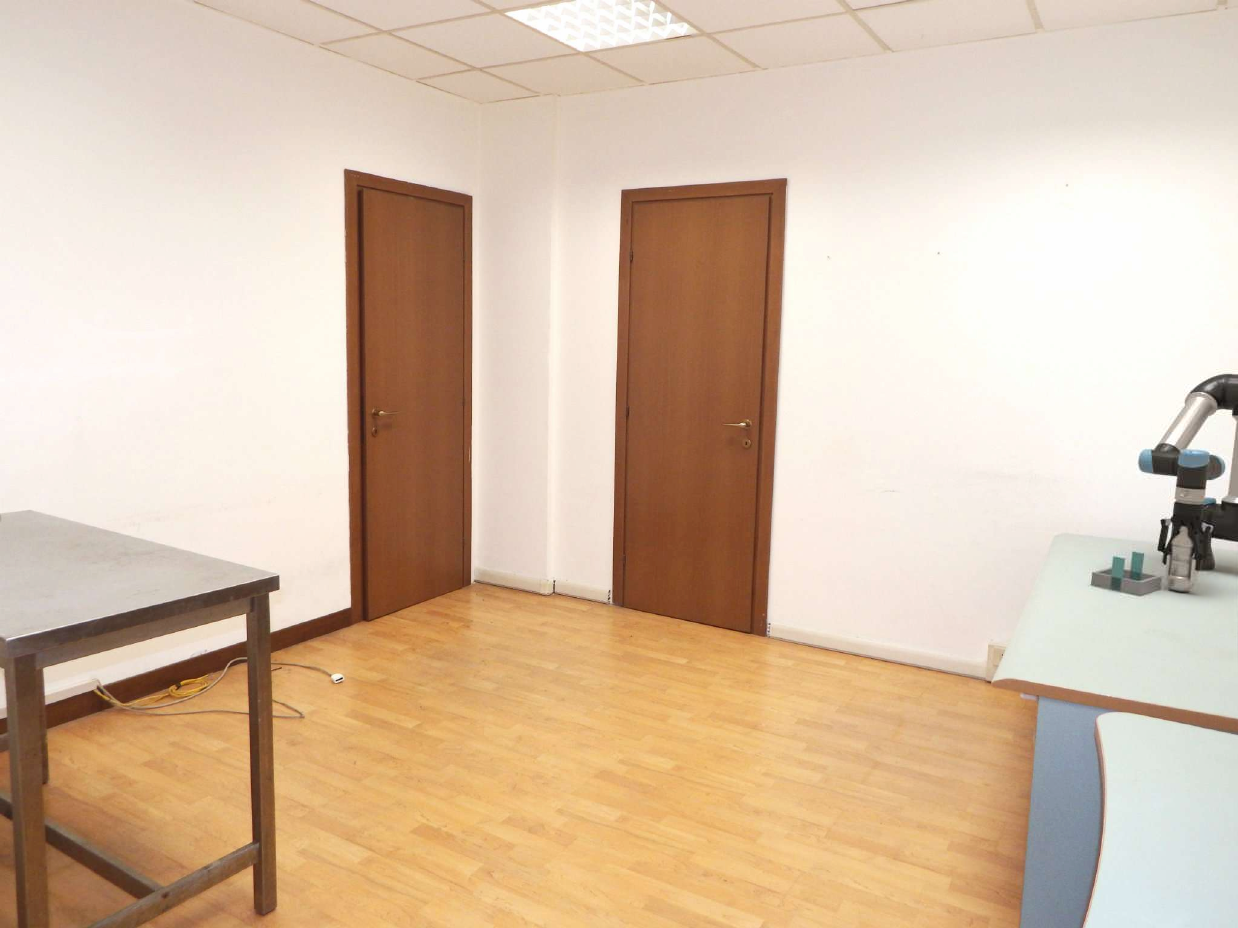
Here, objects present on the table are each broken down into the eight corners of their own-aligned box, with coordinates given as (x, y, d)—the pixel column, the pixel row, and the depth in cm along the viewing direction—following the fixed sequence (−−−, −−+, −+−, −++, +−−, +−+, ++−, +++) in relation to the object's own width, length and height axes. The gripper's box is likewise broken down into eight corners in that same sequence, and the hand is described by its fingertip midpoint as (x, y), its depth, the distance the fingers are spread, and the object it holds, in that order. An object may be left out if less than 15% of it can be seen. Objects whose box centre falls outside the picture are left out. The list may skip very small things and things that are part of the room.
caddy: (1111, 579, 283) (1115, 547, 282) (1160, 589, 273) (1163, 556, 271) (1090, 585, 275) (1094, 552, 274) (1139, 595, 264) (1143, 562, 263)
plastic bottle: (1195, 594, 267) (1203, 528, 265) (1170, 592, 269) (1178, 526, 266) (1186, 589, 274) (1194, 524, 271) (1162, 587, 275) (1169, 522, 273)
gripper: (1148, 498, 273) (1141, 573, 276) (1220, 508, 258) (1211, 587, 261) (1159, 496, 278) (1151, 570, 280) (1230, 505, 263) (1221, 583, 266)
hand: (1180, 578), depth 271 cm, fingers closed on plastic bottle, 6 cm apart
